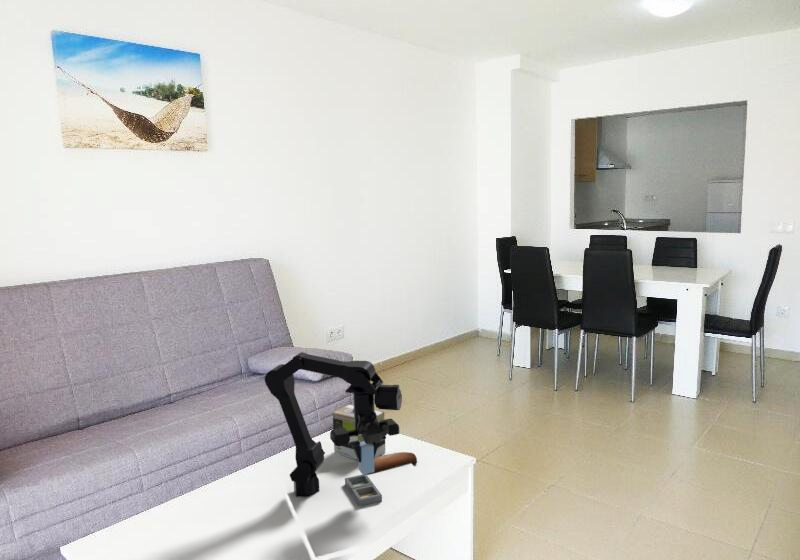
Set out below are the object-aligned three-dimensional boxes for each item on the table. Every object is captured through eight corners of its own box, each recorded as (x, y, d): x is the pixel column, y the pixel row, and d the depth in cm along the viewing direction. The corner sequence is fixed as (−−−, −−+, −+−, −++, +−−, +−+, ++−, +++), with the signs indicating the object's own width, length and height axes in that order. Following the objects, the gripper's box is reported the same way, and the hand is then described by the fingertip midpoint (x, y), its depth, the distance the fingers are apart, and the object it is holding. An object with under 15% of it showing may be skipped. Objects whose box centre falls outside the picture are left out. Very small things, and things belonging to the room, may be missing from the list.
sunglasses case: (404, 453, 194) (409, 441, 190) (413, 471, 189) (418, 458, 185) (355, 466, 185) (359, 454, 182) (364, 485, 181) (368, 472, 177)
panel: (357, 511, 160) (357, 501, 159) (342, 487, 172) (342, 478, 172) (384, 504, 163) (384, 494, 162) (368, 482, 175) (367, 473, 175)
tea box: (386, 452, 195) (385, 410, 193) (368, 464, 187) (367, 421, 185) (351, 442, 204) (350, 402, 201) (333, 453, 195) (331, 411, 193)
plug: (362, 474, 161) (361, 447, 159) (358, 469, 164) (357, 442, 163) (374, 472, 162) (373, 445, 161) (370, 466, 165) (369, 440, 164)
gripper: (340, 423, 149) (342, 480, 152) (406, 411, 156) (407, 466, 159) (328, 409, 159) (330, 462, 162) (391, 398, 166) (392, 449, 169)
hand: (366, 460), depth 162 cm, fingers closed on plug, 3 cm apart
